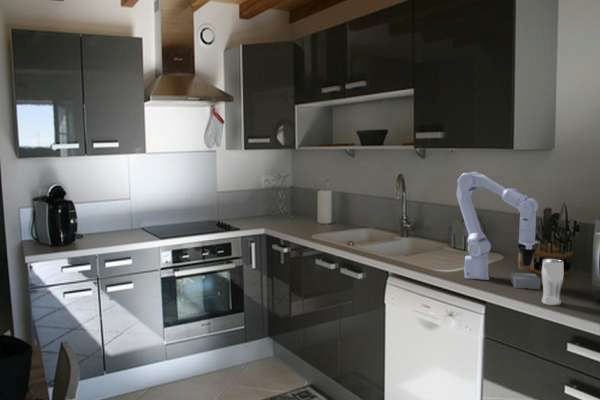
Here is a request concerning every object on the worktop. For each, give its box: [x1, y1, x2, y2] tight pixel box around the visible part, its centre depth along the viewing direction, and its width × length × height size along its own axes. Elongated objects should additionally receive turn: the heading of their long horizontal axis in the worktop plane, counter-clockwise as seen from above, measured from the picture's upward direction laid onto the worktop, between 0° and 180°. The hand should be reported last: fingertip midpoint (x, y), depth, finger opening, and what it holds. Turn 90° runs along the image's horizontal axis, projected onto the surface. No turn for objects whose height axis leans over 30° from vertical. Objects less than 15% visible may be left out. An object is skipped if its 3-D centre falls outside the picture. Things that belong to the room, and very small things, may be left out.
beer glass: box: [540, 258, 565, 306], centre depth 179 cm, size 7×7×15 cm
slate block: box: [510, 272, 541, 290], centre depth 202 cm, size 9×9×4 cm
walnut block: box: [517, 251, 535, 271], centre depth 201 cm, size 5×5×6 cm
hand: (525, 263), depth 201 cm, fingers closed on walnut block, 5 cm apart
